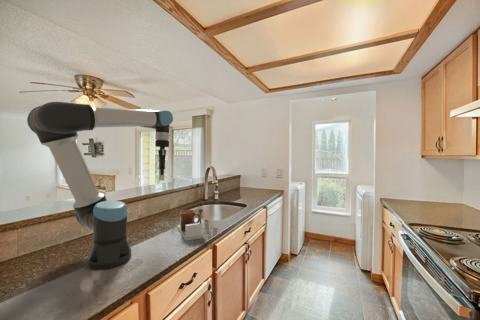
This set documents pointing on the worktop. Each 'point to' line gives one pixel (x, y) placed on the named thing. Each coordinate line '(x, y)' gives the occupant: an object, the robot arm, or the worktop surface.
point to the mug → (188, 218)
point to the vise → (192, 230)
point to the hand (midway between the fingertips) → (161, 180)
